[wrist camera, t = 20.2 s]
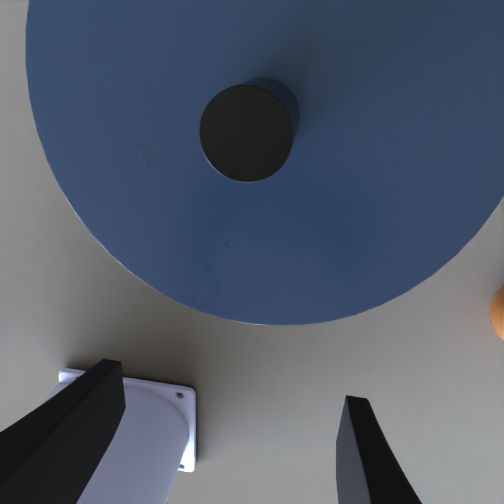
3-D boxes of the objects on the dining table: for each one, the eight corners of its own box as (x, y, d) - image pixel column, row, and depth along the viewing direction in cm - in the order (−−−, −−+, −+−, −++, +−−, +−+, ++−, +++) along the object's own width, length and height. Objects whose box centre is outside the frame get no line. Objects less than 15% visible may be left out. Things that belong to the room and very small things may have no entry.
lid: (78, 285, 19) (8, 351, 15) (2, -211, 12) (-179, -363, 8) (448, 334, 17) (491, 426, 13) (629, -218, 10) (862, -424, 6)
